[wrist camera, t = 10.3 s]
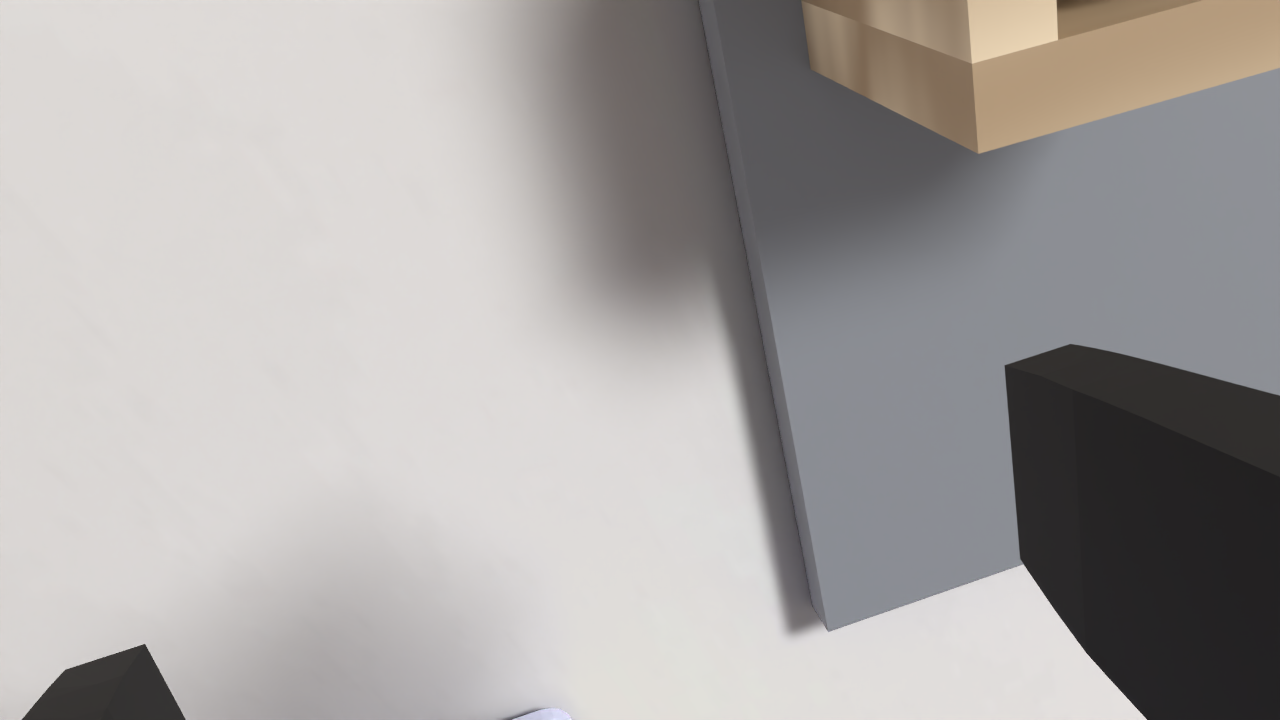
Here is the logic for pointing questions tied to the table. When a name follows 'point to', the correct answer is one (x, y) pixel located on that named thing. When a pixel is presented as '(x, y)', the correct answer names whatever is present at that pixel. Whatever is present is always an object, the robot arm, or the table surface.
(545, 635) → the table surface
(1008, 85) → the birch collar
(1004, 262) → the slate board
